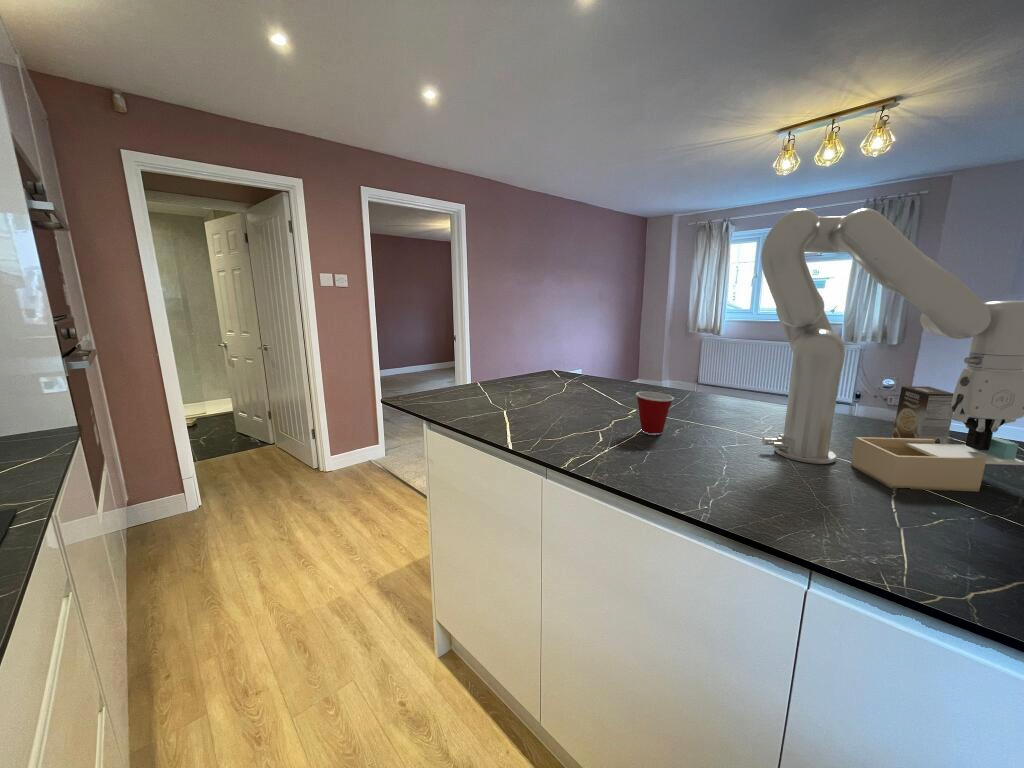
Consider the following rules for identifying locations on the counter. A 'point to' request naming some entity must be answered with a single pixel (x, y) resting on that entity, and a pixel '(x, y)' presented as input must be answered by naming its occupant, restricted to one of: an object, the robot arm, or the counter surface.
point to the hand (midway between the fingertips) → (976, 447)
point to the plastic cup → (653, 410)
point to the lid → (973, 451)
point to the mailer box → (915, 465)
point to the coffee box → (923, 414)
